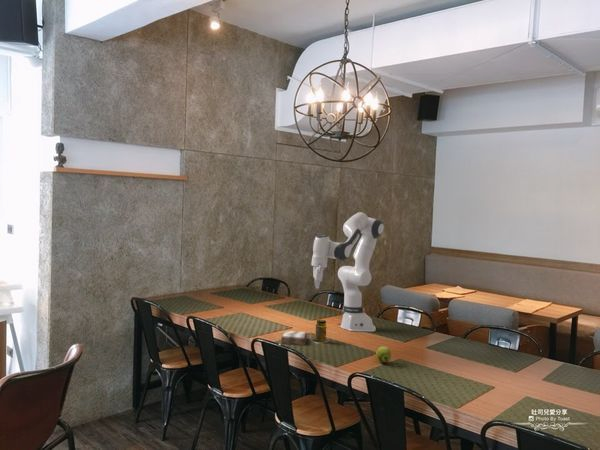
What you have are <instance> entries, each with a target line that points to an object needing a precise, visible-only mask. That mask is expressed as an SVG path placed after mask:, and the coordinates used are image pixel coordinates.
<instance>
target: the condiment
mask: <svg viewBox="0 0 600 450" xmlns="http://www.w3.org/2000/svg"><path fill="white" fill-rule="evenodd" d="M314 336H315V339H309V341H311V342H312V343H315V344H316V345H317V344H325V343H329V341H327V321H326V320H325V319H317V320H316V324H315V335H314Z"/></svg>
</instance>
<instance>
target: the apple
mask: <svg viewBox="0 0 600 450" xmlns="http://www.w3.org/2000/svg"><path fill="white" fill-rule="evenodd" d="M375 358H376V360H377V361H378V362H380V363H382V364H384V363H385V364H386V363H388V362H389V361H390V360H391V358H392V352H391V349H390V348H389V347H388V346H383V345H381V346H380V347H378V348H377V349H376V352H375Z"/></svg>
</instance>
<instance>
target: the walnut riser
mask: <svg viewBox="0 0 600 450" xmlns="http://www.w3.org/2000/svg"><path fill="white" fill-rule="evenodd" d="M307 335H308V333H307V332H306V331H298V330H297V331H296V330H284V332H283V334H282V335H281V342H280V343H281V344H285V345H298V346H299V345H301V346H305V345H306V342H307Z"/></svg>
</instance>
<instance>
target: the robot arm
mask: <svg viewBox="0 0 600 450" xmlns="http://www.w3.org/2000/svg"><path fill="white" fill-rule="evenodd" d="M384 229H385V224H384V222H383V221H382V220H380V219H376V218H373V217H368V215H367V214H366V213H364V212H361V211H359V212H356V213H355V214H354V215H352V216H350V217H349V218H348V219H347V220H346V221H345V222H344V223H343V227H342V231H343V233H344V235H345V236H346V237H347V240H346V241H345V242H336V241H333V240H331V239H330V236H329V235H326V234H318V235H316V236H315V238H314V240H313V246H312V253H313V254H312V257H311V262H310V264H311V266H312V269H313V270H312V273H313V274H312V275H313V278H314V287H315V289H316V290H317V289H320V284H321V282H322V281H323V276H324V270H325V268H327V267H328V258H329V259H334V260H338V261H341V262H344V261H346V260H348V259H349V257H350V255H351V253H352V251H353V250H354V252H353V254H352V257H353V259H354V261H355V263H354V266H351V265H342V266H340V267H339V268H338V271H337V277H338V279H339V280H340V283H341V285H342V288H343V293H344V297H343V300H344V301H343V306H342V319H341V323H340V328H342V329H343V330H346V331H349V332H367V333H368V332H371V333H372V332H376V330H377V327H376V326H375V325H374V323H373V319H372V317H370V316H369V315H368V314H366V308H365V307H364V306H362V299H363V298H362V297H363V294H362V291H361V290H360V289H359V286H360V287H364V286H365V287H366V286H368V285H370V283H371V281H372V274H371V271H370V263H371V262H370V261H371V259H372V256H373V253H374V251H375V248H376V244H377V240H378V238H379V237H380V236H382V234H383V233H384ZM354 248H355V249H354Z"/></svg>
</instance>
